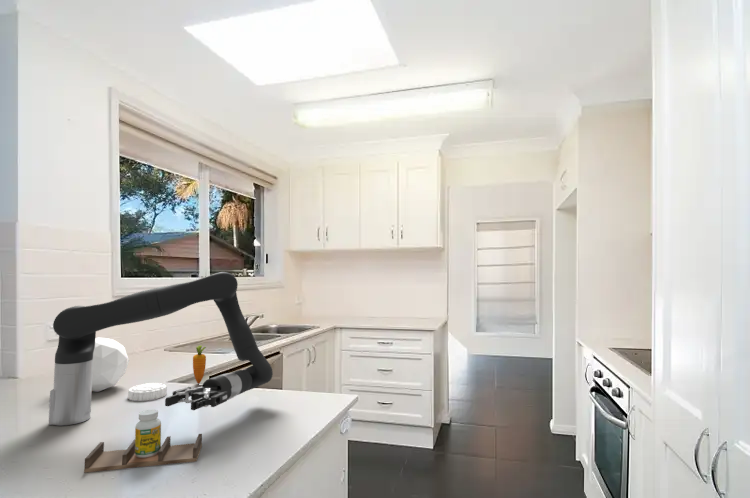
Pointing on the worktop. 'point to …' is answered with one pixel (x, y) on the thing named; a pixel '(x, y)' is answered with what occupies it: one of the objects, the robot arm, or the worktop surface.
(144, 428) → the supplement bottle
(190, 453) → the slot rack
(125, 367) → the ball
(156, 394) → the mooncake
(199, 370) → the carrot
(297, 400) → the worktop surface
